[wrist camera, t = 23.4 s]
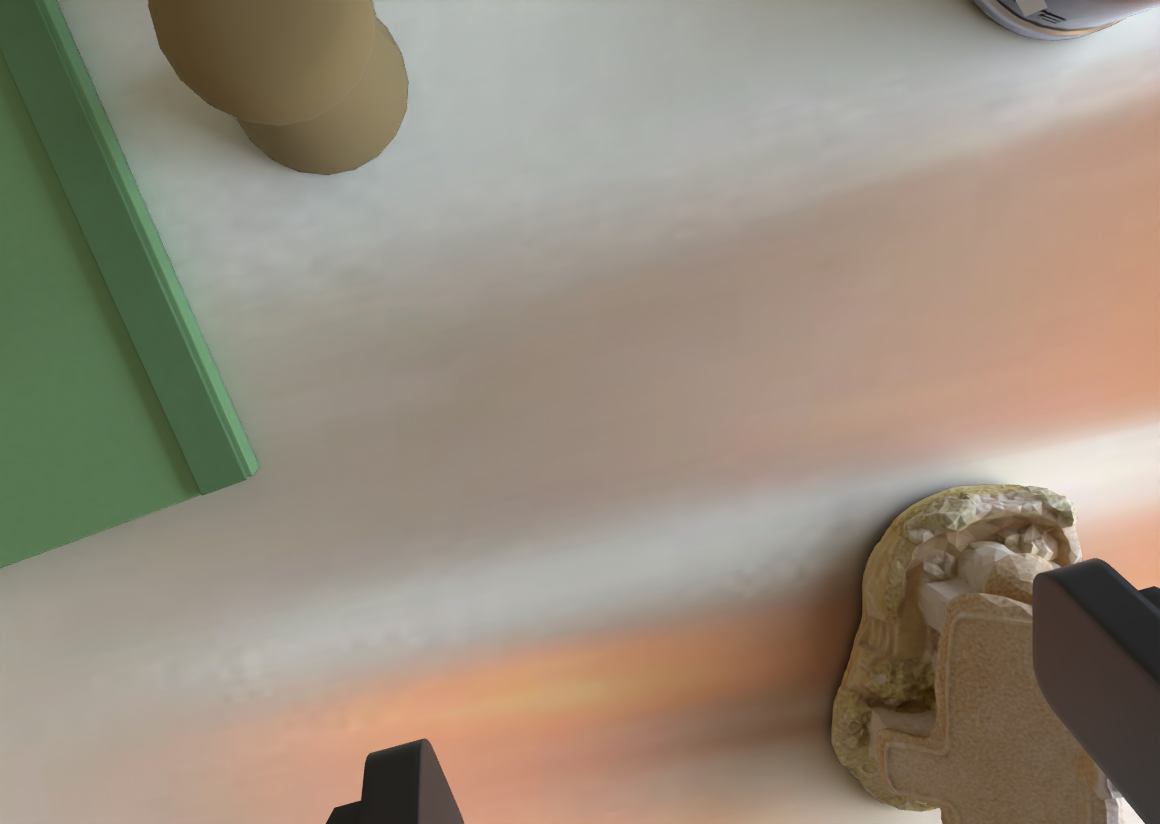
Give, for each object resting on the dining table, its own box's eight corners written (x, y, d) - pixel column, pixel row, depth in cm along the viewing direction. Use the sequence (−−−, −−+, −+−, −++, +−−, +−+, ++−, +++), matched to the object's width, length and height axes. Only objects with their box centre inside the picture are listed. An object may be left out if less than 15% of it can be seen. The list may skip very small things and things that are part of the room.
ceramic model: (1071, 777, 40) (1272, 944, 30) (829, 817, 39) (957, 1005, 29) (1078, 467, 38) (1298, 540, 28) (819, 497, 36) (956, 586, 27)
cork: (237, 178, 31) (127, 137, 21) (215, -9, 30) (87, -157, 20) (415, 171, 32) (399, 128, 21) (400, -12, 31) (375, -154, 20)
